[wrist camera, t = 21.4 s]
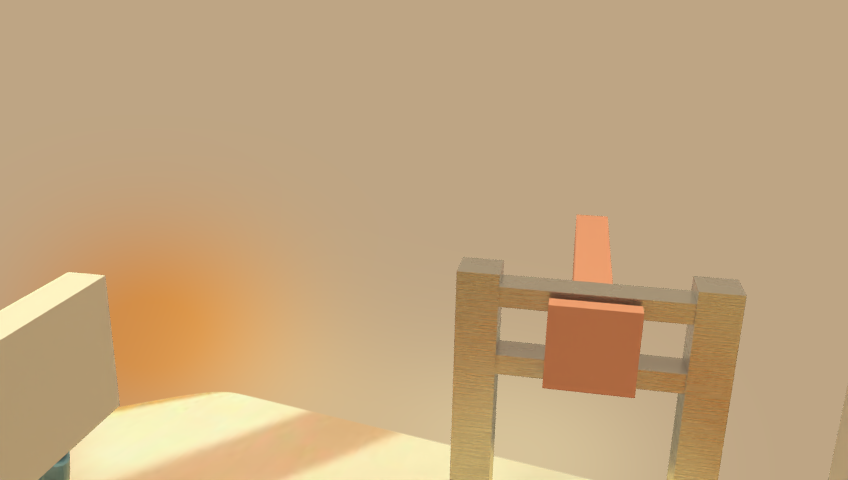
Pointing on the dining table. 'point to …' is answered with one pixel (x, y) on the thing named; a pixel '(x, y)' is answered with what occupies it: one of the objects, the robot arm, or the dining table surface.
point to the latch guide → (689, 377)
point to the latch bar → (592, 326)
